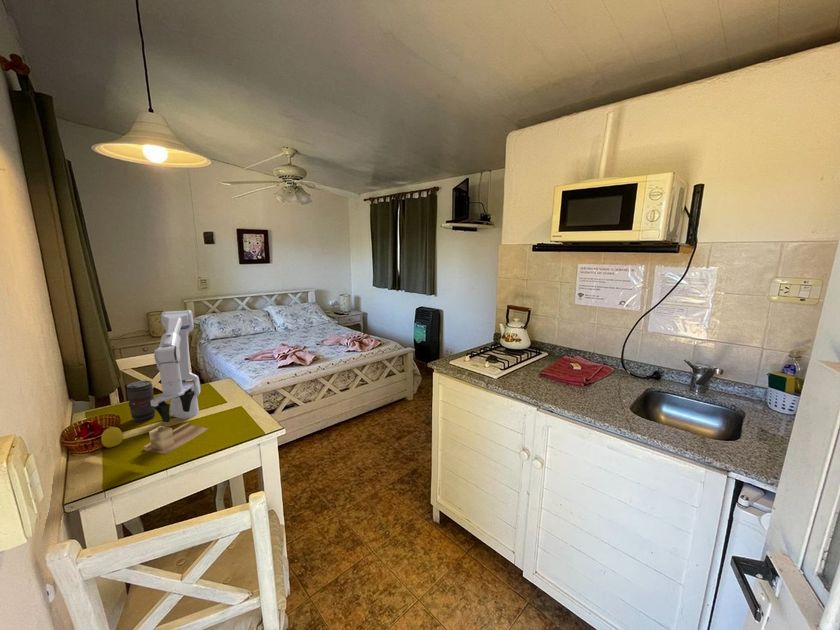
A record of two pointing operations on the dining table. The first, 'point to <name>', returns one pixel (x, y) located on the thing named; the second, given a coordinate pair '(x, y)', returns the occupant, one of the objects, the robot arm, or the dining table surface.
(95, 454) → the dining table surface
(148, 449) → the board
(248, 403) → the dining table surface
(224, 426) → the dining table surface
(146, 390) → the camera lens
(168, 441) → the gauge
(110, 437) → the lemon
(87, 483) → the dining table surface
